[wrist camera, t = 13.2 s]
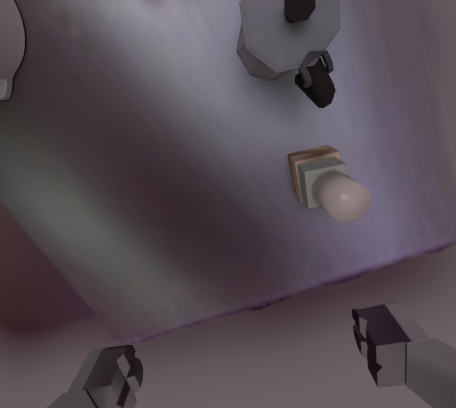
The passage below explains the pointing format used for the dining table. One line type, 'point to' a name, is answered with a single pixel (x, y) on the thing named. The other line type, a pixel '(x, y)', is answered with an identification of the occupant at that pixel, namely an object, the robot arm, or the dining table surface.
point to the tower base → (307, 157)
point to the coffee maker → (291, 42)
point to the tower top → (316, 176)
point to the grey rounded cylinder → (341, 196)
